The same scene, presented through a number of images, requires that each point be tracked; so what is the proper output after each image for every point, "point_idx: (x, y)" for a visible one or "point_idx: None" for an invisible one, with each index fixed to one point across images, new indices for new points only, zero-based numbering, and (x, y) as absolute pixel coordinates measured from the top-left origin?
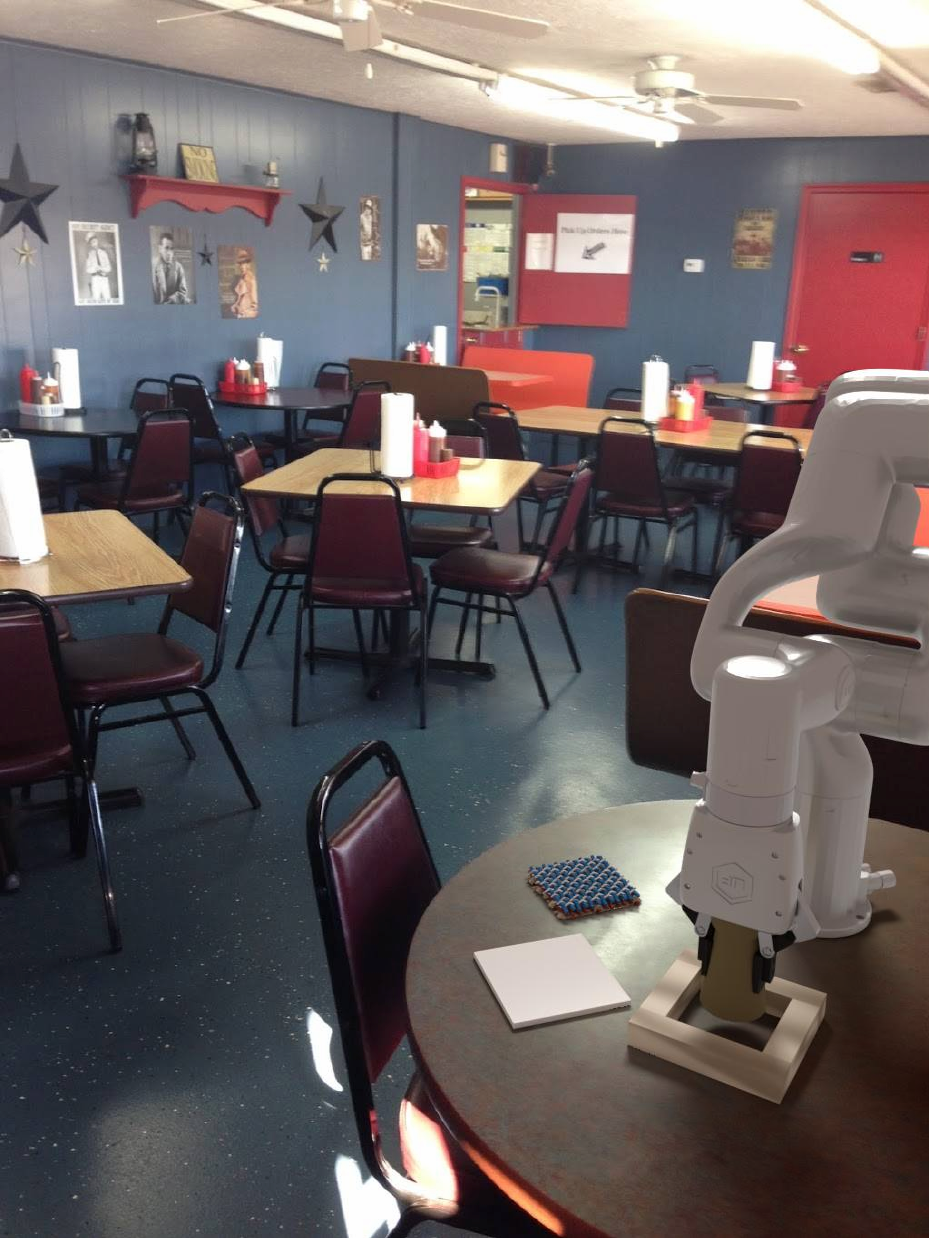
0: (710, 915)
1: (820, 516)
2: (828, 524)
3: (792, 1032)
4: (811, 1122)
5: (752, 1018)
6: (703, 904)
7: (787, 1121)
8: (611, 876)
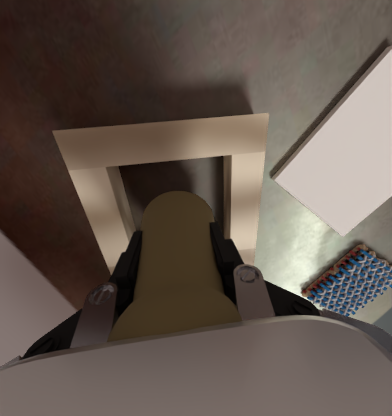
0: (241, 326)
1: None
2: None
3: (103, 219)
4: (30, 124)
5: (144, 210)
6: (291, 367)
7: (48, 106)
8: (334, 303)
